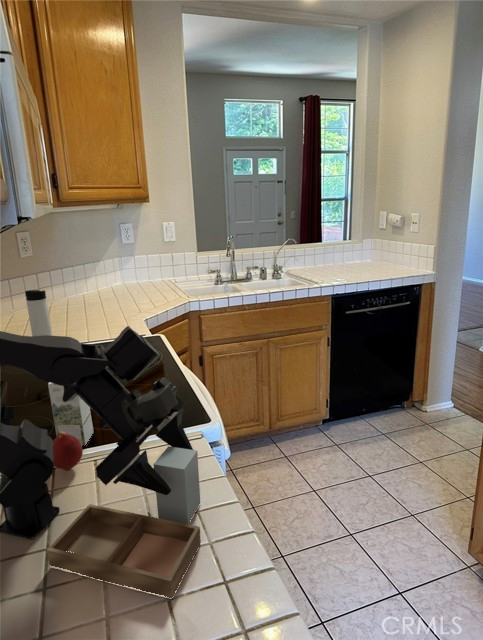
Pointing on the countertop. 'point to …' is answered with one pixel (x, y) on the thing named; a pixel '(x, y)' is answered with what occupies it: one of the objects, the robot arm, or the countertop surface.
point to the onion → (66, 451)
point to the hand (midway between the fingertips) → (182, 474)
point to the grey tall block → (178, 484)
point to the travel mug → (38, 312)
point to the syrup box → (70, 415)
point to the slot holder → (127, 549)
